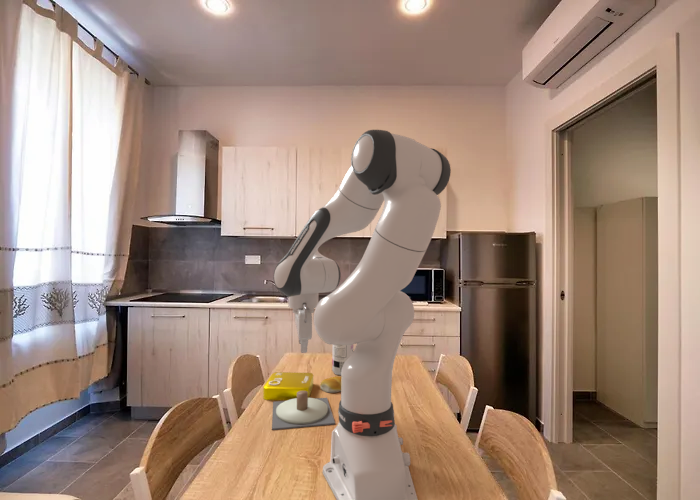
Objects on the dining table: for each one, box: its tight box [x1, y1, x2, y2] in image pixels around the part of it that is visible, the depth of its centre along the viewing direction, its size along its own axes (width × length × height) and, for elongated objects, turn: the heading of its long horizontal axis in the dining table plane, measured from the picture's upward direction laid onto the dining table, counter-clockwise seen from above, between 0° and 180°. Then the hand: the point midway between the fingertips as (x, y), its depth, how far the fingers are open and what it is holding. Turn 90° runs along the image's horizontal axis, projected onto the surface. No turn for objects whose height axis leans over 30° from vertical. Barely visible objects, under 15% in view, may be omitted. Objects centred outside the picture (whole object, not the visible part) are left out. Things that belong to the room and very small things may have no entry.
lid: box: [276, 391, 328, 424], centre depth 102 cm, size 15×15×6 cm
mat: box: [271, 397, 336, 431], centre depth 102 cm, size 17×17×1 cm
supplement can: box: [331, 344, 354, 377], centre depth 137 cm, size 8×8×15 cm
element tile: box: [262, 371, 314, 401], centre depth 118 cm, size 15×15×5 cm
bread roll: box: [319, 375, 341, 394], centre depth 121 cm, size 8×9×4 cm
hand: (302, 347), depth 102 cm, fingers open, 8 cm apart
